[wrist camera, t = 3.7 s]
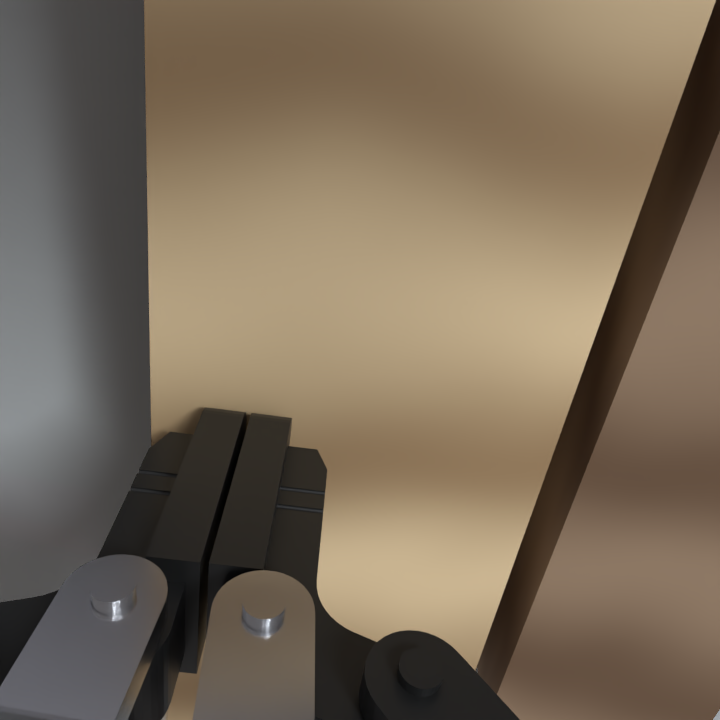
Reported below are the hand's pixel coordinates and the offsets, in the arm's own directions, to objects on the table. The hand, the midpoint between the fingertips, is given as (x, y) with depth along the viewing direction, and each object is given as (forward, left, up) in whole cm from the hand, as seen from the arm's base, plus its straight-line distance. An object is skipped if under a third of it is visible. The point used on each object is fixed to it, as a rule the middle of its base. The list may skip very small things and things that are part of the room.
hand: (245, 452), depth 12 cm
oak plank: (0, +2, -3) cm, 4 cm away
